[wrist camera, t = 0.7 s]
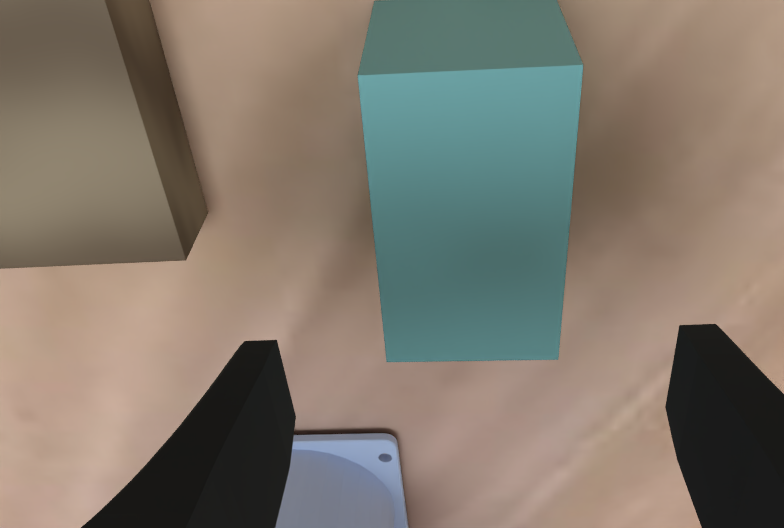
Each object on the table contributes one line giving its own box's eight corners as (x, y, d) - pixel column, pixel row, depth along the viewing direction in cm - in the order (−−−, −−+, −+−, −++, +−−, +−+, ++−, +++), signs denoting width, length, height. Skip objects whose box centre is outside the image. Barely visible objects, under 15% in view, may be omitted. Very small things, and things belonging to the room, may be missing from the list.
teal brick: (538, 249, 24) (558, 359, 20) (395, 252, 24) (386, 362, 20) (552, -11, 19) (583, 65, 15) (374, -1, 19) (357, 75, 15)
